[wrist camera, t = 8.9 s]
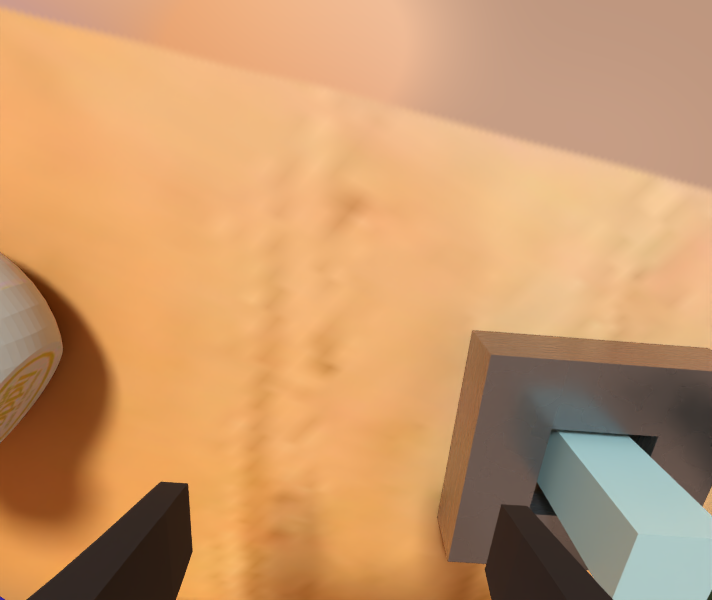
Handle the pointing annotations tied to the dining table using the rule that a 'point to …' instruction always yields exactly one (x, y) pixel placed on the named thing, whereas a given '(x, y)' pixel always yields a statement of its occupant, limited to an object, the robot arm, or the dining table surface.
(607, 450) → the plug
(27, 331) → the air freshener
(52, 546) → the dining table surface
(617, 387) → the port block
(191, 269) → the dining table surface
